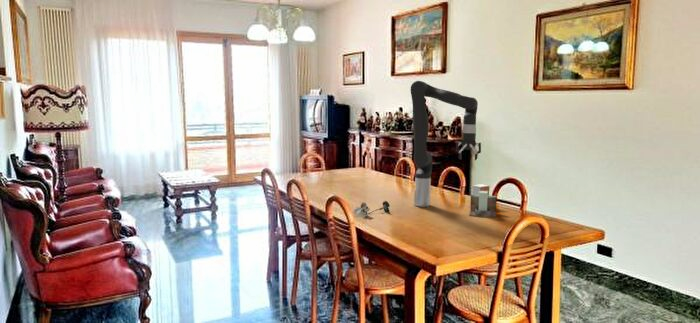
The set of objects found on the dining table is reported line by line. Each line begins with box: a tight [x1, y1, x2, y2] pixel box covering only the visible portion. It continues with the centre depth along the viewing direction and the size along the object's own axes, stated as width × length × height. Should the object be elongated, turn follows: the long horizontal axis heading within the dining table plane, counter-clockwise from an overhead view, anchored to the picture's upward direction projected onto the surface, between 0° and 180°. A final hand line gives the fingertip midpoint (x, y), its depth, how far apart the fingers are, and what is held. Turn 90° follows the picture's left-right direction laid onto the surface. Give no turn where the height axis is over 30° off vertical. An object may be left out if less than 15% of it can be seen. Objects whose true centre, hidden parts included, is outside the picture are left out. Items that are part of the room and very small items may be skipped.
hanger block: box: [478, 191, 488, 211], centre depth 266 cm, size 4×6×12 cm
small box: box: [471, 183, 490, 196], centre depth 286 cm, size 8×6×13 cm
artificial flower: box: [353, 200, 390, 218], centre depth 268 cm, size 9×22×10 cm, turn 120°
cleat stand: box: [468, 194, 497, 218], centre depth 266 cm, size 14×11×10 cm
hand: (467, 159), depth 277 cm, fingers open, 8 cm apart
